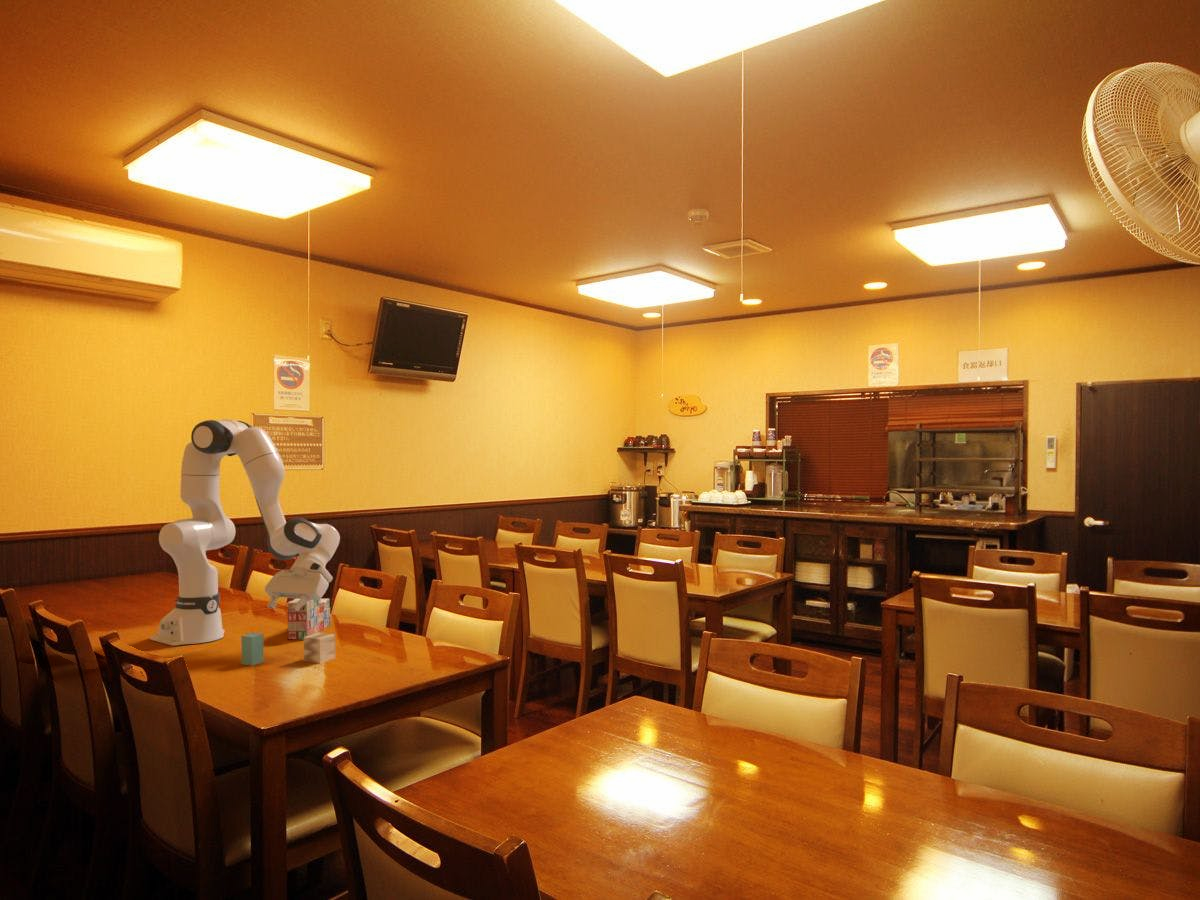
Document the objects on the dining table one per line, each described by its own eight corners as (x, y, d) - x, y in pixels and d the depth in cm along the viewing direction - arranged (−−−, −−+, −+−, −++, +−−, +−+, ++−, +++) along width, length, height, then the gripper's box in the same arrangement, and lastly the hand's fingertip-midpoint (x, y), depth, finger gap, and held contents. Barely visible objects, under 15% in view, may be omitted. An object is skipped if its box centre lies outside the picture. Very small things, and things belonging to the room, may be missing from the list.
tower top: (303, 649, 216) (303, 637, 216) (318, 644, 222) (318, 632, 222) (320, 651, 214) (320, 639, 214) (334, 646, 219) (335, 634, 219)
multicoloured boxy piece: (312, 625, 262) (312, 589, 262) (330, 625, 262) (330, 589, 262) (287, 640, 240) (287, 602, 240) (306, 640, 240) (306, 601, 240)
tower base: (303, 661, 216) (303, 649, 216) (319, 656, 222) (319, 644, 222) (320, 663, 214) (320, 651, 214) (335, 658, 220) (335, 646, 220)
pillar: (241, 664, 213) (241, 635, 213) (252, 660, 217) (252, 632, 217) (252, 665, 212) (252, 637, 212) (263, 661, 216) (263, 633, 216)
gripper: (275, 563, 235) (250, 600, 226) (326, 566, 228) (303, 604, 219) (286, 575, 240) (261, 611, 231) (337, 578, 232) (314, 617, 223)
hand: (282, 608), depth 225 cm, fingers open, 8 cm apart
